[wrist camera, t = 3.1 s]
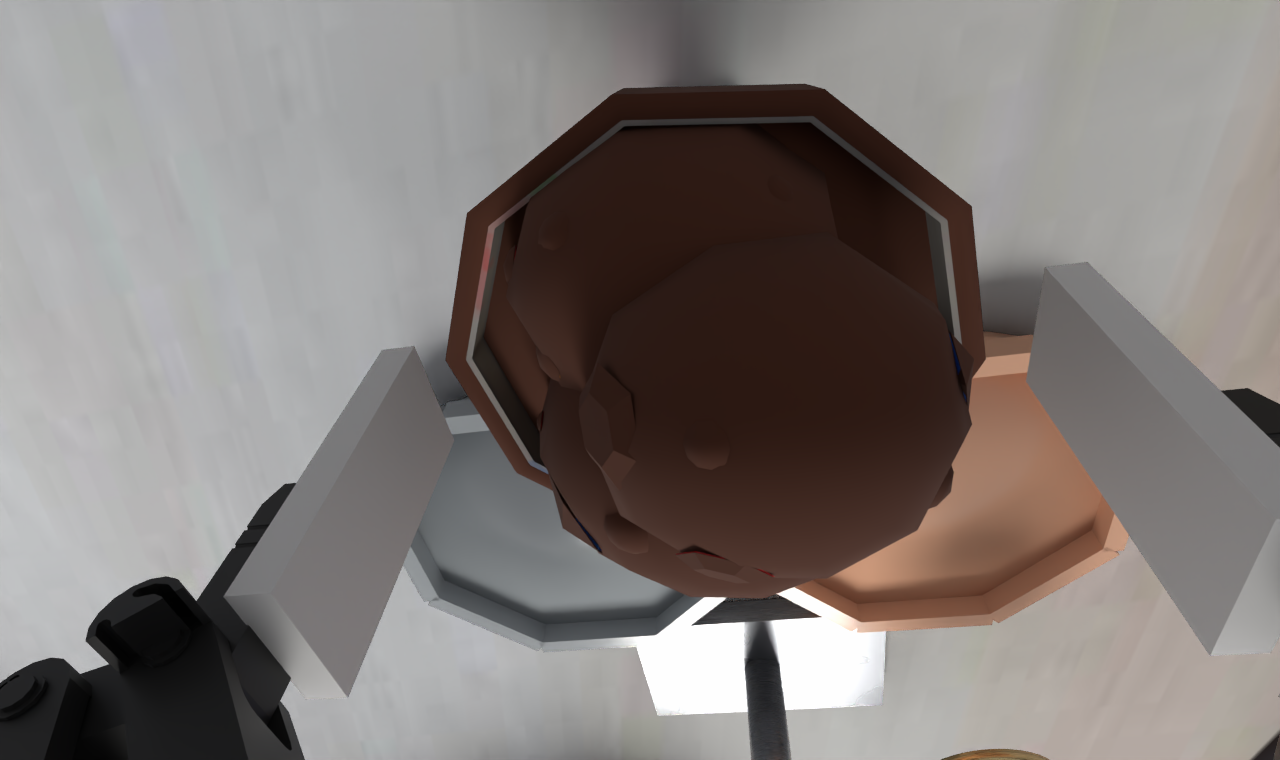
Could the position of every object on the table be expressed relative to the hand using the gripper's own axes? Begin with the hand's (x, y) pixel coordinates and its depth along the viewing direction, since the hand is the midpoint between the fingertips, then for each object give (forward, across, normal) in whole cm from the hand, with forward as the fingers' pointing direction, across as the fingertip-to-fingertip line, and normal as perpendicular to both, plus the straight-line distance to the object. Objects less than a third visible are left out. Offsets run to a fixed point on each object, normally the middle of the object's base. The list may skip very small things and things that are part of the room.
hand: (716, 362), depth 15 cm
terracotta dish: (+9, +7, -13) cm, 18 cm away
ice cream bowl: (+9, 0, +1) cm, 9 cm away
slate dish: (+9, -8, -13) cm, 18 cm away
